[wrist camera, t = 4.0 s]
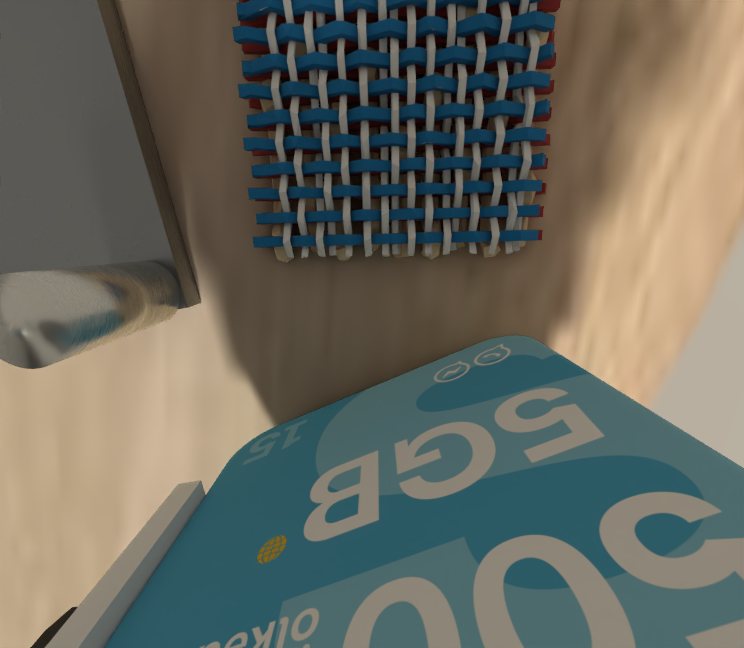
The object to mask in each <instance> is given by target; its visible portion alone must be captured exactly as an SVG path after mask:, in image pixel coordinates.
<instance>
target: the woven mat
mask: <svg viewBox="0 0 744 648" xmlns="http://www.w3.org/2000/svg"><path fill="white" fill-rule="evenodd" d="M560 1H561V0H239V2H240V3H236V4H237V15H238V21H240V23H241V26H238V27H233V36H234V41H235V42H237V43H239V44H242V51H243V52H244V54H258V55H261V56H262V57H260V58H257V59H254V60H252V61H242V69H243V76H244V77H245V79H246V80H247V81H262V84H261V85H258V84H238V88H239V97H240V98H243V99H249V108H255V109H261V110H263V113H259V114H253V115H247V123H248V128H249V129H250V130H251V131H268V139H267V138H243V140H244V149H245V150H247V151H252V154H253V156H265V155H270V164H264V165H255V166H252V176H253V178H257V179H262V178H272V188H248V192H249V200H251V199H255V201H273V203H274V213H261V214H256V219H257V224H274V225H273V229H272V236H265V237H253V243H254V247H274V250H275V254H276V257H277V260H278V261H281V262H285V263H287V262H288V261H290V260H291V259H293V258H294V255H293V251H292V246H302V258H306V257H308V251H309V246H311V249H312V252H316V251H318V255H319V256H322V257H326V256H325V250H324V246H329V256H332V255H337V257H338V259H339V261H340V260H349V259H350V257H351V256H352V249H353V245H364V247H365V257H367V256H371V255H372V251H375V250H378V248H379V246H380V244H382V255H383V256H384V257H387V256H390V253H389V244H392V254H394V258H397V257H410V256H413V255H414V253H415V243H422V253H421V255H423V256H425V257H427V258H428V259H430V260H432V259H434V258H435V257H437V256H439V251H440V243H443V255H445V254H450V250H454V251H456V249H457V248H459V247H465V242H468V243H469V250H470V253H473V254H477V251H476V242H480V244H481V250H482V253H483V256H484V257H494V256H495V255H496V254H497V253H498V252H499V251H500V250H501V248H500V244H499V241H505V249H506V254H512V251H520V247H524V246H525V241H530V240H542V230H527V225H528V217H543V208H544V206H540V205H532V202H533V199H534V196H535V195H539V194H546V183H542V180H536V178H535V174H534V170H538V169H547V163H548V158H546V155H544V154H543V153H541V154H535V155H532V152H533V146H548V145H550V134H546V129H540V128H534V124H535V122H539V121H548V120H549V119H550V118H551V110H552V107H550V102H549V100H548V99H546V100H542V101H539V102H536V96H537V95H546V94H550V93H552V92H553V90H554V80H550V74H546V73H541V72H538V71H539V69H551V68H552V67H554V66H555V61H556V53H554V44H553V43H554V31H553V29H554V24H555V16H553V15H550V14H546V13H547V12H556V11H557V10H558V9H559V8H560ZM455 4H456V5H457V7H456V5H455ZM515 15H517V16H515ZM511 16H514V17H511ZM356 23H357V25H355V24H356ZM315 25H317V29H313V26H315ZM288 41H289V42H288ZM486 44H487V49H486ZM474 45H477V48H478V49H474ZM444 46H447V47H446V48H444V49H441V47H444ZM422 47H423V48H422ZM387 49H390V54H389V53H387ZM377 50H379V52H377ZM345 51H354V52H352V53H350V54H348V55H346V56H345ZM507 70H514V72H513V75H509V76H508V72H507ZM483 71H486V73H484V72H483ZM473 72H475V75H473ZM442 73H444V76H442ZM452 73H454V78H452ZM416 74H423V78H420V79H417V80H416ZM318 79H319V82H318ZM327 79H328V82H327ZM281 80H291V81H290V82H284V83H283V84H282V83H281ZM326 82H327V83H326ZM506 96H512V98H513V102H512V101H506ZM472 98H474V103H475V105H472ZM483 98H485V105H483ZM347 102H360V106H359V107H356V108H353V109H350V110H348V108H347ZM378 102H380V108H379V107H378ZM388 102H391V109H388ZM451 102H453V103H451ZM415 103H418V104H415ZM319 104H321V108H319ZM328 104H329V108H328ZM422 104H423V105H422ZM298 108H299V109H300V112H298ZM288 109H290V111H289V110H288ZM451 124H453V133H452V134H450V128H451ZM471 124H472V125H473V128H472V130H471ZM512 124H515V127H514V128H513V129H511V130H506V126H507V125H512ZM440 125H443V127H442V132H440ZM415 126H422V132H418V133H416V132H415ZM481 126H487V127H486V130H484V129H481ZM378 127H380V134H378ZM388 127H391V133H388ZM357 129H361V136H356V135H349V134H348V131H353V130H357ZM285 130H293V131H294V136H288V137H286V138H285ZM321 132H322V136H321ZM329 134H330V136H329ZM502 147H510V155H504V154H501V151H502ZM480 148H483V157H481V155H480ZM440 149H441V155H442V158H440ZM449 149H452V157H450V152H449ZM354 152H361V154H362V159H360V160H355V161H351V162H349V153H354ZM379 152H380V153H381V160H379ZM417 152H422V157H415V153H417ZM330 153H331V155H332V161H331V156H330ZM388 153H389V154H391V158H392V161H389V160H388ZM286 155H294V161H293V162H287V156H286ZM302 157H303V164H301V163H302ZM323 157H324V161H322V158H323ZM501 171H508V181H503V182H502V179H501V173H500V172H501ZM479 173H482V181H478V178H479ZM415 174H422V183H416V184H415ZM439 174H442V178H443V183H439ZM379 175H381V185H379ZM389 175H392V184H389ZM451 175H454V178H453V183H450V177H451ZM331 176H332V177H333V186H331ZM350 176H362V186H355V185H350ZM322 177H324V187H323V178H322ZM289 178H297V183H298V187H295V186H293V187H289V183H288V180H289ZM500 195H507V197H508V206H505V205H501V206H498V203H499V199H500ZM450 196H452V208H450ZM468 196H470V204H471V208H467V204H468ZM478 196H481V207H479V201H478ZM417 197H422V209H421V208H415V198H417ZM439 197H443V208H439ZM389 198H392V209H391V210H389ZM352 199H363V209H360V210H354V211H351V200H352ZM380 199H381V202H380ZM332 200H334V206H333V201H332ZM290 201H292V202H299V205H298V212H291V209H290ZM324 201H325V204H326V211H325V210H324ZM497 218H507V224H506V230H505V231H499V226H498V220H497ZM450 219H452V227H451V224H450ZM467 219H470V224H469V231H466V220H467ZM478 219H480V231H476V229H477V224H478ZM415 220H422V232H419V233H415ZM440 220H443V226H444V232H441V226H440ZM389 221H392V233H389ZM351 222H358V223H363V234H352V227H351ZM381 222H382V228H381ZM296 223H298V225H299V230H300V234H301V236H291V232H292V224H296ZM306 223H308V232H307V227H306ZM325 223H328V235H324V225H325Z"/></svg>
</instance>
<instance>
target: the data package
mask: <svg viewBox="0 0 744 648" xmlns="http://www.w3.org/2000/svg"><path fill="white" fill-rule="evenodd" d="M104 648H744V468H743V467H741V466H739V465H738V464H736V463H734V462H733V461H731V460H730V459H728V458H726V457H725V456H723V455H721V454H720V453H718V452H717V451H715V450H713V449H712V448H710V447H709V446H707V445H705V444H704V443H702V442H700V441H699V440H697V439H695V438H694V437H692V436H691V435H689V434H687V433H686V432H684V431H683V430H681V429H679V428H678V427H676V426H675V425H673V424H671V423H670V422H668V421H667V420H665V419H663V418H662V417H660V416H658V415H657V414H655V413H654V412H652V411H650V410H649V409H647V408H646V407H644V406H642V405H641V404H639V403H637V402H636V401H634V400H633V399H631V398H629V397H628V396H626V395H625V394H623V393H621V392H620V391H618V390H616V389H615V388H613V387H612V386H610V385H608V384H607V383H605V382H604V381H602V380H600V379H599V378H597V377H595V376H594V375H592V374H591V373H589V372H587V371H586V370H584V369H583V368H581V367H579V366H578V365H576V364H574V363H573V362H571V361H570V360H568V359H566V358H565V357H563V356H562V355H560V354H558V353H557V352H555V351H553V350H552V349H550V348H549V347H547V346H545V345H544V344H542V343H540V342H539V341H537V340H536V339H533V338H531V337H528V336H520V335H511V336H502V337H497V338H493V339H489V340H486V341H483V342H480V343H478V344H475V345H473V346H470V347H468V348H465V349H463V350H461V351H458V352H456V353H453V354H451V355H448V356H446V357H444V358H441V359H439V360H436V361H434V362H431V363H429V364H427V365H424V366H422V367H419V368H417V369H414V370H412V371H410V372H407V373H405V374H402V375H400V376H397V377H395V378H393V379H390V380H388V381H385V382H383V383H380V384H378V385H376V386H373V387H371V388H368V389H366V390H363V391H361V392H359V393H356V394H354V395H351V396H349V397H347V398H344V399H342V400H339V401H337V402H334V403H332V404H330V405H327V406H325V407H322V408H320V409H317V410H315V411H313V412H310V413H308V414H305V415H303V416H300V417H298V418H296V419H293V420H291V421H288V422H286V423H283V424H281V425H279V426H276V427H274V428H272V429H270V430H268V431H266V432H264V433H262V434H260V435H259V436H257V437H256V438H254V439H252V440H251V441H250V442H248V443H247V444H246V445H244V446H243V447H242V448H241V449H240V450H239V451H238V452H236V453H235V455H234V456H233V457H232V458H231V459H230V460H229V462H228V463H227V464H226V466H225V467H224V469H223V470H222V472H221V473H220V475H219V476H218V478H217V479H216V481H215V482H214V484H213V485H212V487H211V488H210V490H209V491H208V493H207V494H206V496H205V497H204V499H203V500H202V502H201V503H200V505H199V506H198V508H197V509H196V511H195V512H194V514H193V515H192V517H191V518H190V520H189V521H188V523H187V524H186V526H185V527H184V529H183V530H182V532H181V533H180V535H179V536H178V538H177V539H176V541H175V542H174V544H173V545H172V547H171V548H170V550H169V551H168V553H167V554H166V556H165V557H164V559H163V560H162V562H161V563H160V565H159V566H158V568H157V569H156V571H155V572H154V574H153V575H152V577H151V578H150V580H149V581H148V583H147V584H146V586H145V587H144V589H143V590H142V592H141V593H140V595H139V596H138V598H137V599H136V601H135V602H134V604H133V605H132V607H131V608H130V610H129V611H128V612H127V614H126V615H125V617H124V618H123V620H122V621H121V623H120V624H119V626H118V627H117V629H116V630H115V632H114V633H113V635H112V636H111V638H110V639H109V641H108V642H107V644H106V645H105V647H104Z"/></svg>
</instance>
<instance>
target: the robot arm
mask: <svg viewBox="0 0 744 648" xmlns="http://www.w3.org/2000/svg"><path fill="white" fill-rule="evenodd" d="M205 496H206V495H205V492H204V489H203V485H202V482H201V481H195V482H189V483H182V484H178V485H177V487H176V488H175V489H174V490H173V491H172V493H171V494H170V495H169V496H168V498H167V499H166V500H165V501H164V502H163V504H162V505H161V506H160V507H159V509H158V510H157V511H156V512H155V513H154V515H153V516H152V517H151V518H150V520H149V521H148V522H147V523H146V524H145V526H144V527H143V528H142V529H141V531H140V532H139V533H138V534H137V536H136V537H135V538H134V539H133V540H132V542H131V543H130V544H129V545H128V547H127V548H126V549H125V550H124V551H123V553H122V554H121V555H120V556H119V558H118V559H117V560H116V561H115V562H114V564H113V565H112V566H111V567H110V569H109V570H108V571H107V572H106V573H105V575H104V576H103V577H102V578H101V580H100V581H99V582H98V583H97V584H96V586H95V587H94V588H93V589H92V591H91V592H90V593H89V594H88V595H87V597H86V598H85V599H84V600H83V602H82V603H81V604H80V605H79V606H78V607H72V608H71V609H70V610H69V611H67V612H66V613H65V614H64V615H63V616H62V617H60V618H59V619H58V620H57V621H56V622H55V623H54V624H52V625H51V626H50V627H49V628H48V629H47V630H45V631H44V633H43V634H42V635H41V636H40V637H39V639H38V640H37V641H36V642H35V643H34V644H33V646H32V647H31V648H104V647H105V645H106V644H107V642H108V641H109V639H110V638H111V636H112V635H113V633H114V632H115V630H116V629H117V627H118V626H119V624H120V623H121V621H122V620H123V618H124V617H125V615H126V614H127V612H128V611H129V610H130V608H131V607H132V605H133V604H134V602H135V601H136V599H137V598H138V596H139V595H140V593H141V592H142V590H143V589H144V587H145V586H146V584H147V583H148V581H149V580H150V578H151V577H152V575H153V574H154V572H155V571H156V569H157V568H158V566H159V565H160V563H161V562H162V560H163V559H164V557H165V556H166V554H167V553H168V551H169V550H170V548H171V547H172V545H173V544H174V542H175V541H176V539H177V538H178V536H179V535H180V533H181V532H182V530H183V529H184V527H185V526H186V524H187V523H188V521H189V520H190V518H191V517H192V515H193V514H194V512H195V511H196V509H197V508H198V506H199V505H200V503H201V502H202V500H203V499H204V497H205Z"/></svg>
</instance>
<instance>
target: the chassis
mask: <svg viewBox="0 0 744 648" xmlns="http://www.w3.org/2000/svg"><path fill="white" fill-rule="evenodd" d="M199 303H201V302H200V299H199V295H198V292H197V288H196V285H195V281H194V278H193V274H192V271H191V267H190V264H189V260H188V257H187V253H186V250H185V246H184V243H183V239H182V236H181V232H180V229H179V225H178V222H177V218H176V215H175V212H174V208H173V205H172V201H171V198H170V194H169V191H168V187H167V184H166V180H165V177H164V173H163V170H162V166H161V163H160V159H159V156H158V152H157V149H156V145H155V142H154V138H153V135H152V131H151V128H150V124H149V121H148V118H147V114H146V111H145V107H144V104H143V100H142V97H141V93H140V90H139V86H138V83H137V79H136V76H135V72H134V69H133V65H132V62H131V58H130V55H129V51H128V48H127V44H126V41H125V37H124V34H123V31H122V27H121V24H120V20H119V17H118V13H117V10H116V6H115V3H114V0H0V359H2V360H3V361H5V362H7V363H9V364H12V365H14V366H17V367H21V368H27V369H35V368H42V367H46V366H48V365H51V364H53V363H56V362H59V361H61V360H64V359H67V358H69V357H72V356H75V355H77V354H80V353H82V352H85V351H88V350H90V349H93V348H96V347H98V346H101V345H104V344H106V343H109V342H112V341H114V340H117V339H119V338H122V337H125V336H127V335H130V334H133V333H135V332H138V331H141V330H143V329H146V328H148V327H151V326H154V325H156V324H159V323H162V322H164V321H167V320H168V319H170V318H171V317H172V316H173V315H174V314H175V313H176V311H177V310H178V309H182V308H187V307H190V306H193V305H196V304H199Z"/></svg>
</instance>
